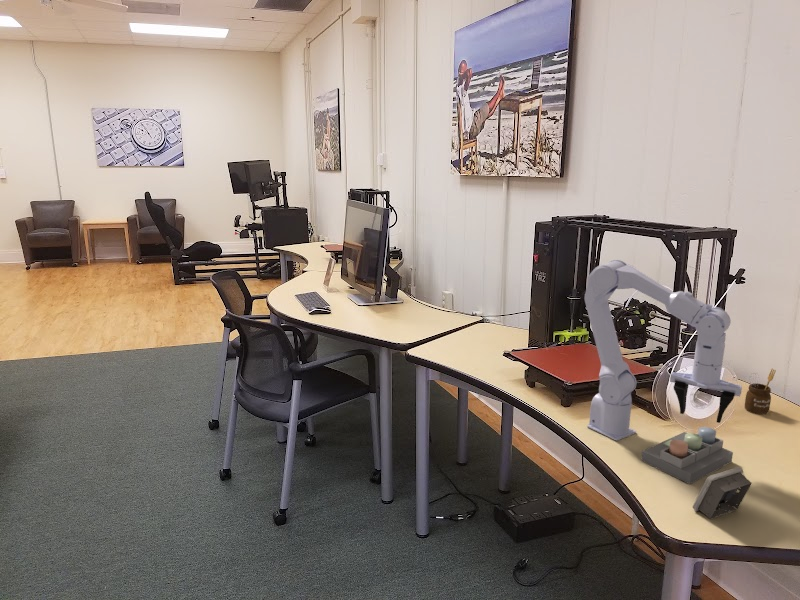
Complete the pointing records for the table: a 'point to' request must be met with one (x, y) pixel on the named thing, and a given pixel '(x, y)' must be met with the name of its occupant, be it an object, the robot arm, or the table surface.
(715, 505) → the electrical switch
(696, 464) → the console
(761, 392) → the utensil holder
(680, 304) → the robot arm
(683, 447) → the terracotta button
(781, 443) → the table surface
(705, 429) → the slate button
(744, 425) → the table surface
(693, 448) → the sage button
